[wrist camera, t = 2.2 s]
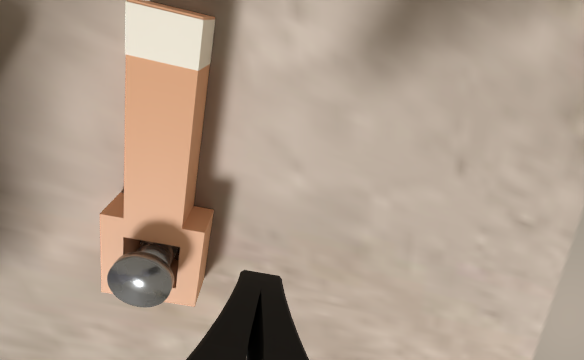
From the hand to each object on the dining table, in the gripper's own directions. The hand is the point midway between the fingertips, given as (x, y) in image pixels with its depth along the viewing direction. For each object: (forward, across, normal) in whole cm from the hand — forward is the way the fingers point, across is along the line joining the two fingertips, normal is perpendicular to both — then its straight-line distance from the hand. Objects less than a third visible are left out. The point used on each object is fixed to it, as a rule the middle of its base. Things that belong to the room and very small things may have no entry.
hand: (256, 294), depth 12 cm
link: (+9, +6, 0) cm, 10 cm away
